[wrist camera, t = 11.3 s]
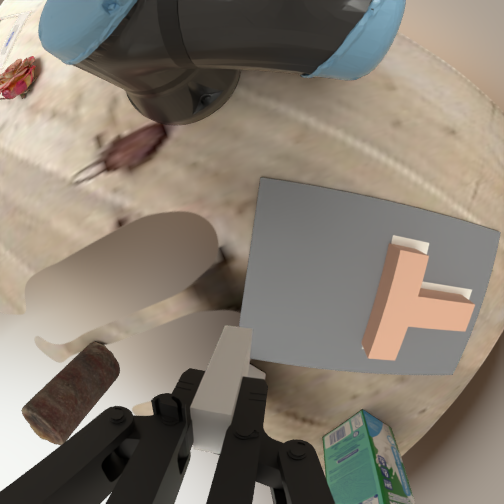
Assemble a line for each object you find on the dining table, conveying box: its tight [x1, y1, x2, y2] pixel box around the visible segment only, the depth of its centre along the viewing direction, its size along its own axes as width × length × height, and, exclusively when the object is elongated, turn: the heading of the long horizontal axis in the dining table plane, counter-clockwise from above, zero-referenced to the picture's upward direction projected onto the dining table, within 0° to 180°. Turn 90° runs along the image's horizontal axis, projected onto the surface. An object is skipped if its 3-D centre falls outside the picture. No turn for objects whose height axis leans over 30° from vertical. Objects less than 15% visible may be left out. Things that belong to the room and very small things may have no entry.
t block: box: [361, 243, 475, 360], centre depth 33 cm, size 14×14×4 cm
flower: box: [0, 56, 37, 99], centre depth 31 cm, size 10×9×8 cm
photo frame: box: [0, 11, 32, 69], centre depth 32 cm, size 15×1×18 cm
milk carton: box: [322, 409, 415, 504], centre depth 29 cm, size 9×9×25 cm
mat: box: [239, 177, 501, 375], centre depth 35 cm, size 24×36×1 cm, turn 82°
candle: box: [22, 342, 120, 445], centre depth 34 cm, size 8×7×20 cm
